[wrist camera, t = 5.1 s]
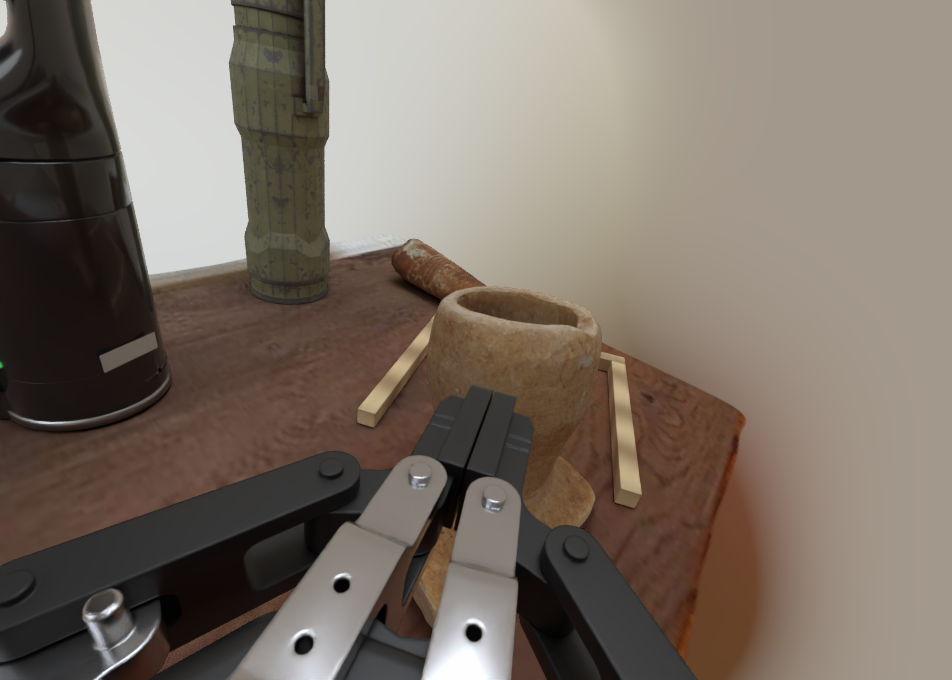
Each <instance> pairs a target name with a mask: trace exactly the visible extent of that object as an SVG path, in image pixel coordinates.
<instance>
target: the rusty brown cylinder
mask: <svg viewBox="0 0 952 680" xmlns="http://www.w3.org/2000/svg"><path fill="white" fill-rule="evenodd" d="M392 265H393V267H394V269H395V270H396V272H397V273H398V274H399V275H401V276H402V277H403V278H404V279H406V280H407V281H409V282H410V283H411V284H413V285H415V286H417V287H419V288H420V289H422V290H424V291H426V292H428V293H429V294H431V295H434V296H435V297H437V298H439V299H440V300H443V298H445V297H446V296H448V295H449V294H451V293H453V292H455V291H458V290H462V289H466V288H472V287H482V286H486V285H485V284H483V283H482V282H480V281H479V280H477V279H476V278H475V277H473V276H472V275H471V274H469V273H468V272H466V271H465V270H464V269H462V268H461V267H459V266H458V265H456V264H455V263H454V262H452V261H451V260H449V259H448V258H446V257H445V256H443V255H442V254H440V253H439V252H437V251H436V250H435V249H433V248H432V247H430V246H428V245H426V244H424V243H423V242H422V241H420V240H418V239H410V240H408V241H407V242H406V243H405V244H404V245H403V246H402V247H401V248H400V249H399V250H396V251H395V252H394V254H393V256H392Z"/></svg>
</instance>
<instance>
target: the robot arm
mask: <svg viewBox="0 0 952 680" xmlns="http://www.w3.org/2000/svg"><path fill="white" fill-rule="evenodd" d="M5 1H6V5H7V23H8V24H7V28H6V31H5V33H4V35H3V36H2V37H1V38H0V419H12V420H13V421H14V422H16V423H17V424H19V425H21V426H24V427H27V428H31V429H35V430H42V431H73V430H81V429H87V428H93V427H97V426H102V425H105V424H109V423H112V422H115V421H118V420H121V419H124V418H127V417H129V416H131V415H134V414H136V413H138V412H140V411H142V410H143V409H145V408H147V407H149V406H150V405H152V404H153V403H154V402H156V401H157V400H158V399H159V398H161V397H162V396H163V395H164V394H165V392H166V391H167V390H168V388H169V386H170V384H171V380H172V376H171V371H170V366H169V364H168V362H167V356H166V352H165V350H164V345H163V341H162V335H161V331H160V326H159V321H158V317H157V312H156V307H155V303H154V298H153V294H152V289H151V284H150V280H149V275H148V270H147V266H146V262H145V257H144V252H143V248H142V243H141V238H140V233H139V229H138V224H137V220H136V215H135V211H134V206H133V201H132V197H131V192H130V188H129V183H128V179H127V174H126V169H125V165H124V160H123V155H122V152H121V151H120V150H121V146H120V142H119V138H118V133H117V129H116V125H115V121H114V116H113V112H112V107H111V103H110V98H109V94H108V89H107V85H106V80H105V75H104V70H103V66H102V61H101V56H100V51H99V46H98V42H97V35H96V29H95V24H94V18H93V12H92V6H91V0H5ZM493 392H494V390H491V389H488V388H484V387H481V386H477V385H473V384H471V386H470V388H469V390H468V393H467V395H466V397H465V398H461V397H458V396H454V395H450V396H449V397H447V398H446V399H444V400H443V401H441V402H440V403H439V405H438V407H437V409H436V411H435V413H434V415H433V416H432V418H431V420H430V422H429V424H428V425H427V427H426V429H425V431H424V433H423V434H422V436H421V438H420V440H419V442H418V443H417V445H416V447H415V449H414V451H413V453H412V454H411V456H409V457H406V458H404V459H402V460H401V461H399V462H398V463H397V464H396V466H395V467H394V468H392V469H387V470H364V469H360V464H359V462H358V461H357V460H356V458H354V457H353V456H352V455H350V454H348V453H345V452H341V451H328V452H324V453H320V454H317V455H314V456H311V457H309V458H306V459H303V460H300V461H297V462H294V463H291V464H288V465H286V466H283V467H280V468H277V469H274V470H271V471H268V472H265V473H263V474H260V475H257V476H254V477H251V478H248V479H245V480H242V481H240V482H237V483H234V484H231V485H228V486H225V487H222V488H219V489H217V490H214V491H211V492H208V493H205V494H202V495H199V496H196V497H193V498H191V499H188V500H185V501H182V502H179V503H176V504H173V505H170V506H168V507H165V508H162V509H159V510H156V511H153V512H150V513H147V514H145V515H142V516H139V517H136V518H133V519H130V520H127V521H124V522H122V523H119V524H116V525H113V526H110V527H107V528H104V529H101V530H98V531H96V532H93V533H90V534H87V535H84V536H81V537H78V538H75V539H73V540H70V541H67V542H64V543H61V544H58V545H55V546H52V547H50V548H47V549H44V550H41V551H38V552H35V553H32V554H29V555H27V556H24V557H21V558H18V559H15V560H13V561H10V562H7V563H5V564H3V565H1V566H0V680H511V670H512V657H513V645H514V633H515V621H516V612H517V613H518V614H519V619H520V623H521V626H522V628H523V630H524V633H525V635H526V637H527V639H528V641H529V643H530V645H531V647H532V649H533V651H534V653H535V655H536V658H537V660H538V662H539V664H540V666H541V668H542V670H543V672H544V674H545V676H546V678H547V680H697V678H696V677H695V675H694V674H693V673H692V672H691V670H690V668H689V667H688V666H687V664H686V663H685V662H684V660H683V659H682V657H681V656H680V655H679V653H678V652H677V650H676V649H675V648H674V646H673V645H672V644H671V642H670V641H669V639H668V638H667V637H666V635H665V634H664V632H663V631H662V630H661V628H660V627H659V626H658V624H657V623H656V621H655V620H654V619H653V617H652V616H651V614H650V613H649V612H648V610H647V609H646V608H645V606H644V605H643V603H642V602H641V601H640V599H639V598H638V596H637V595H636V594H635V592H634V591H633V590H632V588H631V587H630V585H629V584H628V583H627V581H626V580H625V578H624V577H623V576H622V574H621V573H620V572H619V570H618V569H617V567H616V566H615V565H614V563H613V562H612V560H611V559H610V558H609V556H608V555H607V553H606V552H605V551H604V549H603V548H602V547H601V545H600V544H599V542H598V541H597V540H596V539H595V538H594V537H593V536H592V535H591V534H589V533H588V532H587V531H585V530H583V529H581V528H579V527H576V526H572V525H560V526H557V527H554V528H553V529H552V528H550V527H548V526H547V525H545V524H544V523H542V522H541V521H539V520H538V519H536V518H535V517H534V516H533V515H532V514H531V513H530V512H529V510H528V509H527V507H526V506H525V503H524V501H523V497H522V489H523V484H524V479H525V474H526V469H527V463H528V458H529V453H530V448H531V442H532V438H533V433H534V428H533V425H532V422H531V419H530V417H528V416H525V415H521V414H518V413H514V408H515V404H516V400H517V397H516V396H513V395H509V394H506V393H502V392H499V391H495V393H494V395H493ZM492 397H493V398H492ZM457 511H458V512H457ZM456 514H457V516H456ZM455 517H456V521H455V526H454V530H455V531H457V533H456V538H455V542H454V546H453V550H452V554H451V558H450V561H449V565H448V569H447V573H446V577H445V581H444V586H443V590H442V594H441V598H440V602H439V606H438V610H437V615H436V619H435V623H434V627H433V631H432V635H431V639H421V638H406V637H402V636H399V635H398V634H397V633H398V630H399V626H400V624H401V621H402V618H403V616H404V614H405V611H406V609H407V607H408V605H409V603H410V601H411V599H412V597H413V594H414V592H415V590H416V588H417V586H418V584H419V582H420V579H421V577H422V575H423V573H424V571H425V569H426V567H427V565H428V562H429V560H430V558H431V556H432V554H433V551H434V546H435V545H436V543H437V541H438V538H439V536H440V533H441V530H442V528H443V527H445V528H448V529H452V526H453V523H454V520H455ZM293 588H295V589H294V590H293V591H292V593H291V594H290V596H289V597H288V598H287V600H286V601H285V602H284V604H283V605H282V606H281V608H280V609H279V610H277V611H274V612H270V613H268V614H265V615H263V616H261V617H258V618H256V619H254V620H252V621H250V622H248V623H247V624H245V625H243V626H241V627H240V628H238V629H236V630H234V631H233V632H231V633H229V634H227V635H225V636H224V637H222V638H220V639H218V640H217V641H215V642H213V643H211V644H210V645H208V646H206V647H204V648H202V649H201V650H199V651H197V652H195V653H194V654H192V655H190V656H188V657H187V658H185V659H183V660H181V661H180V662H178V663H176V664H174V665H172V666H171V667H169V668H167V669H165V670H164V671H162V672H160V673H158V674H157V672H158V671H159V670H160V669H161V667H162V665H163V664H164V662H165V660H166V658H167V656H168V653H169V652H171V651H173V650H175V649H177V648H179V647H181V646H182V645H184V644H186V643H188V642H190V641H192V640H194V639H196V638H198V637H200V636H202V635H204V634H206V633H208V632H210V631H211V630H213V629H215V628H217V627H219V626H221V625H223V624H225V623H227V622H229V621H231V620H233V619H235V618H237V617H239V616H240V615H242V614H244V613H246V612H248V611H250V610H252V609H254V608H256V607H258V606H260V605H262V604H264V603H266V602H268V601H269V600H271V599H273V598H275V597H277V596H279V595H281V594H283V593H285V592H287V591H289V590H291V589H293ZM156 674H157V675H156Z"/></svg>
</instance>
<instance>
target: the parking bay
mask: <svg viewBox="0 0 952 680" xmlns="http://www.w3.org/2000/svg"><path fill="white" fill-rule="evenodd" d="M434 316H435V315H434ZM433 320H434V317H433V318H432V319H431V320H430V321H429V323H428V324H427V325H426V326H425V328H424V329H423V330H422V331H421V332H420V334H419V335H418V336H417V337H416V338H415V340H414V341H413V342H412V343H411V345H410V346H409V347H408V348H407V349H406V351H405V352H404V353H403V354H402V356H401V357H400V358H399V359H398V360H397V362H396V363H395V364H394V365H393V366H392V368H391V369H390V370H389V371H388V373H387V374H386V375H385V376H384V377H383V379H382V380H381V381H380V382H379V383H378V385H377V386H376V387H375V388H374V390H373V391H372V392H371V393H370V394H369V396H368V397H367V398H366V399H365V401H364V402H363V403H362V404H361V405H360V407H359V408H358V419H357V422H358V423H360V424H363V425H366V426H370V427H373V428H374V427H375V426H376V425H377V423H378V422H379V420H380V419H381V418H382V416H383V415H384V413H385V412H386V411H387V409H388V408H389V406H390V405H391V404H392V402H393V401H394V399H395V398H396V397H397V395H398V394H399V392H400V391H401V390H402V388H403V387H404V386H405V384H406V383H407V381H408V380H409V379H410V377H411V376H412V374H413V373H414V372H415V370H416V369H417V367H418V366H419V365H420V363H421V362H422V360H423V359H424V358H425V356H426V355H427V352H428V344H429V339H430V333H431V328H432V324H433ZM598 369H599V370H603V371H607V372H608V389H609V408H610V427H611V446H612V465H613V484H614V502H615V503H618V504H622V505H625V506H628V507H631V508H635V507H636V505H637V503H638V501H639V499H640V497H641V495H642V494H641V486H640V478H639V470H638V462H637V454H636V446H635V438H634V430H633V422H632V415H631V407H630V399H629V391H628V383H627V375H626V367H625V359H624V358H623V357H619V356H616V355H612V354H608V353H604V352H601V357H600V362H599V367H598Z"/></svg>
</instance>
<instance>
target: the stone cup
mask: <svg viewBox="0 0 952 680" xmlns="http://www.w3.org/2000/svg"><path fill="white" fill-rule="evenodd" d="M601 350H602V334H601V329H600V325H599V323H598V321H597V319H596V318H595V316H593V314H592V313H590V312H589V311H588V310H586V309H584V308H583V307H581V306H579V305H577V304H574V303H571V302H566V301H564V300H562V299H559V298H556V297H554V296H551V295H547V294H543V293H538V292H533V291H529V290H525V289H515V288H508V287H498V286H482V287H472V288H466V289H462V290H458V291H455V292H453V293H451V294H449V295H448V296H446V297H445V298H443V300H442V301H441V302H440V304H439V306H438V309H437V311H436V314H435V316H434V320H433V324H432V328H431V333H430V339H429V344H428V352H427V368H428V377H429V383H430V388H431V394H432V400H433V407H434V413H435V411H436V409H437V407H438V405H439V403H440V402H441V401H443V400H444V399H446V398H447V397H449V396H450V395H454V396H458V397H461V398H465V397H466V395H467V393H468V390H469V388H470V386H471V384H473V385H477V386H481V387H484V388H488V389H491V390H494V392H493V395H494V393H495V391H499V392H502V393H506V394H509V395H513V396H516V397H517V400H516V404H515V408H514V413H518V414H521V415H525V416H528V417H530V419H531V422H532V425H533V428H534V433H533V438H532V442H531V448H530V453H529V458H528V463H527V469H526V474H525V479H524V484H523V489H522V497H523V501H524V503H525V506H526V507H527V509H528V510H529V512H530V513H531V514H532V515H533V516H534V517H535V518H536V519H538V520H539V521H541V522H542V523H544V524H545V525H547V526H548V527H550V528H552V529H553V528H554V527H557V526H560V525H572V526H576V527H579V528H580V526H581V525H582V524H583V523H584V522H585V520H586V519H587V517H588V516H589V514H590V512H591V509H592V507H593V503H594V500H595V495H594V492H593V490H592V488H591V486H590V485H589V484H588V483H587V481H586V480H585V479H584V478H583V477H582V476H581V475H580V474H579V473H578V472H577V471H576V470H575V469H574V468H573V467H572V466H571V465H570V464H569V463H568V462H567V461H566V460H564V459H563V458H562V457H561V456H559V454H560V452H561V450H562V449H563V447H564V445H565V443H566V441H567V440H568V438H569V437H570V436H571V434H572V433H573V432H574V430H575V429H576V427H577V426H578V424H579V423H580V421H581V420H582V418H583V416H584V414H585V412H586V409H587V406H588V403H589V400H590V397H591V394H592V391H593V388H594V385H595V381H596V376H597V372H598V367H599V362H600V357H601ZM492 398H493V397H492ZM457 512H458V511H457ZM456 516H457V514H456ZM455 521H456V517H455V520H454V523H453V526H452V529H448V528H445V527H443V528H442V530H441V533H440V536H439V538H438V541H437V543H436V545H435V546H434V551H433V554H432V556H431V558H430V560H429V562H428V565H427V567H426V569H425V571H424V573H423V575H422V577H421V579H420V582H419V584H418V586H417V588H416V590H415V592H414V594H413V598H414V600H415V602H416V603H417V605H418V606H419V607H420V608H421V610H422V612H423V614H424V617H425V620H426V621H427V623H428V624H429V625H430V626H431V627H432V628H433V627H434V623H435V619H436V615H437V610H438V606H439V602H440V598H441V594H442V590H443V586H444V581H445V577H446V573H447V569H448V565H449V561H450V558H451V554H452V550H453V546H454V542H455V538H456V533H457V531H455V530H454V526H455Z"/></svg>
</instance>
